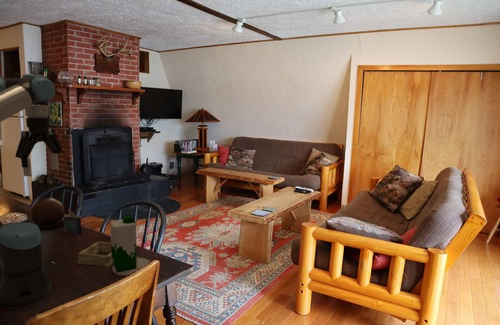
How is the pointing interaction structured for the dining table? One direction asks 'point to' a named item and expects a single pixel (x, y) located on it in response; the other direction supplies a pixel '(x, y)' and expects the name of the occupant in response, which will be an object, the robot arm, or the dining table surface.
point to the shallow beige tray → (92, 259)
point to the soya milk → (124, 243)
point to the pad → (140, 263)
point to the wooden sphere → (47, 212)
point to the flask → (72, 224)
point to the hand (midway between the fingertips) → (42, 172)
